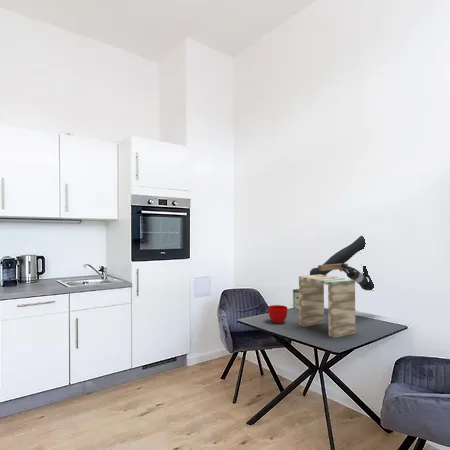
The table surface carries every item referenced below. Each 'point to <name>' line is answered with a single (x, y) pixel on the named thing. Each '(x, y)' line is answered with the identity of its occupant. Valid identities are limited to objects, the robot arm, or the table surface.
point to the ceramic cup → (277, 313)
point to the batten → (330, 267)
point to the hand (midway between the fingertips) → (339, 264)
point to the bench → (337, 303)
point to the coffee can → (296, 298)
